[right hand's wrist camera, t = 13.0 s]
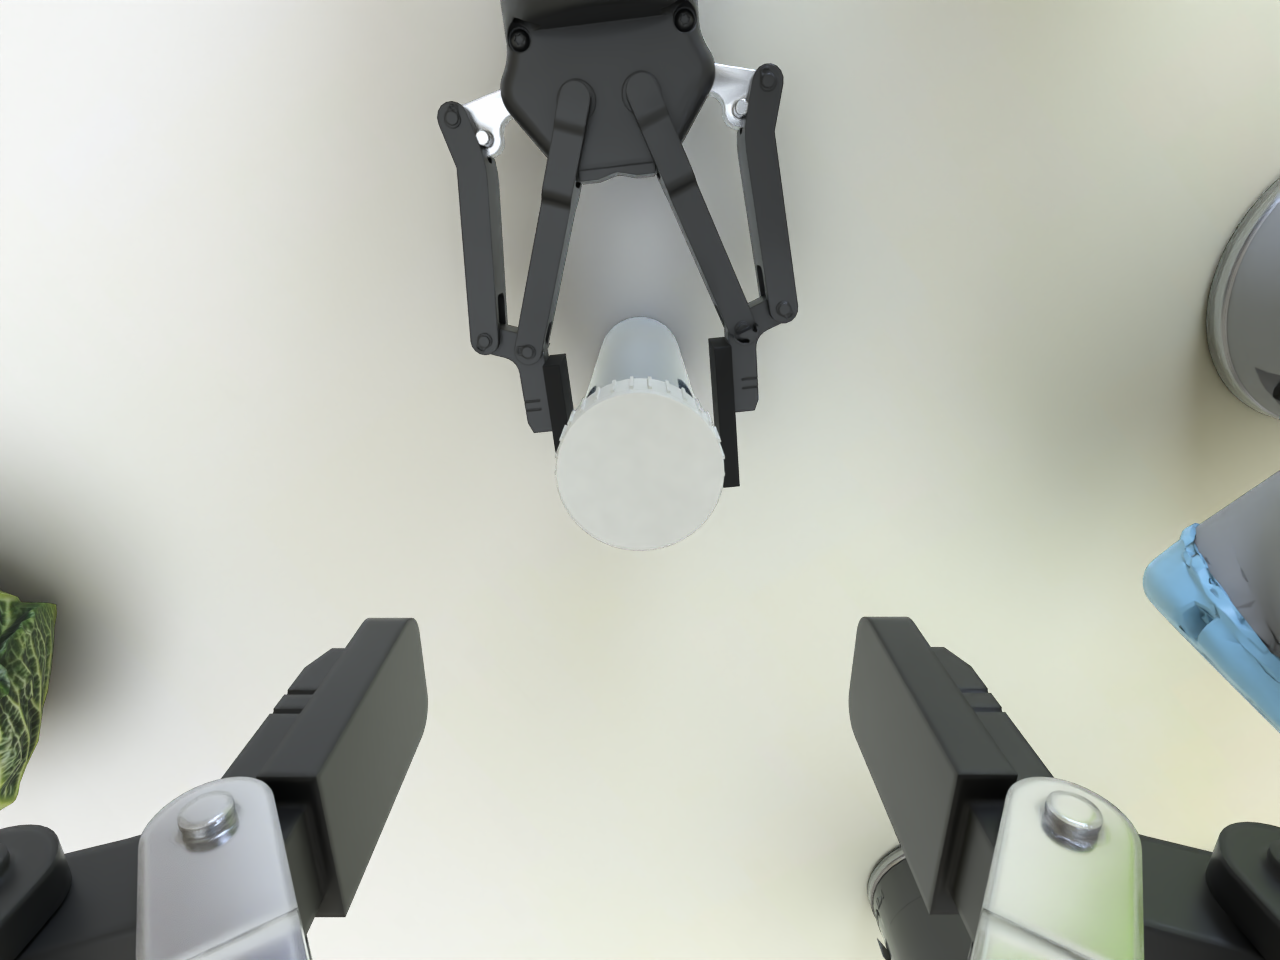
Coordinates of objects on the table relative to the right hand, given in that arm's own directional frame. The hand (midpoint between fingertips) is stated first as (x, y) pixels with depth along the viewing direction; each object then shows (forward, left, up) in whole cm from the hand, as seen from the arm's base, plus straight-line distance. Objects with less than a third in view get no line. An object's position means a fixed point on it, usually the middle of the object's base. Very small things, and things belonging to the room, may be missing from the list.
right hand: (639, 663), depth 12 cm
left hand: (0, +5, -22) cm, 22 cm away
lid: (0, 0, -10) cm, 10 cm away
